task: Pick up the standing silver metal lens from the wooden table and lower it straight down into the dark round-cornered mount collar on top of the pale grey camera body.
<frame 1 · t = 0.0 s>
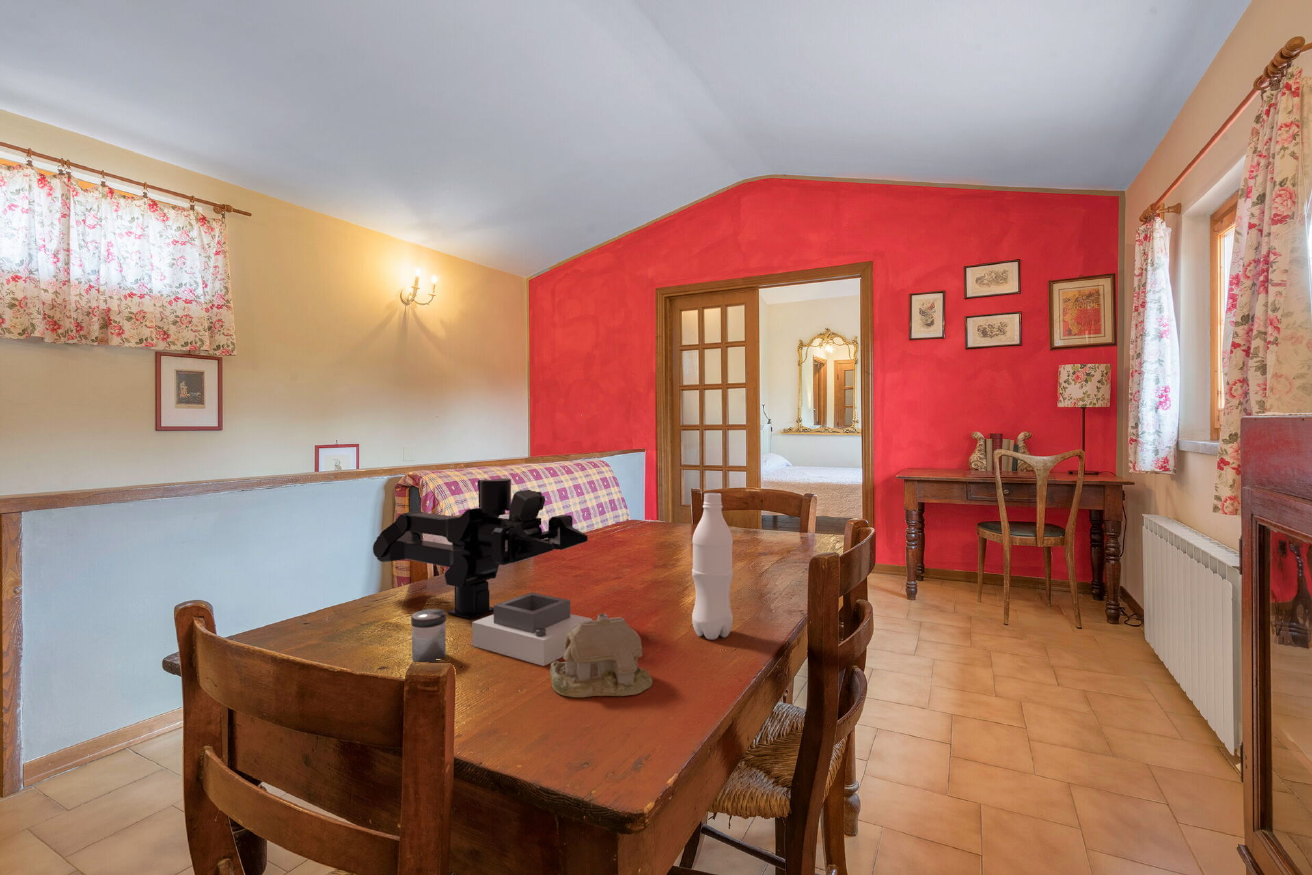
hand: (570, 542, 103), 17 cm above the table, tool horizontal, fingers open, 9 cm apart
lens: (429, 657, 94), on the table
water bottle: (712, 635, 104), on the table
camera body: (532, 643, 100), on the table
ceramic model: (601, 685, 85), on the table
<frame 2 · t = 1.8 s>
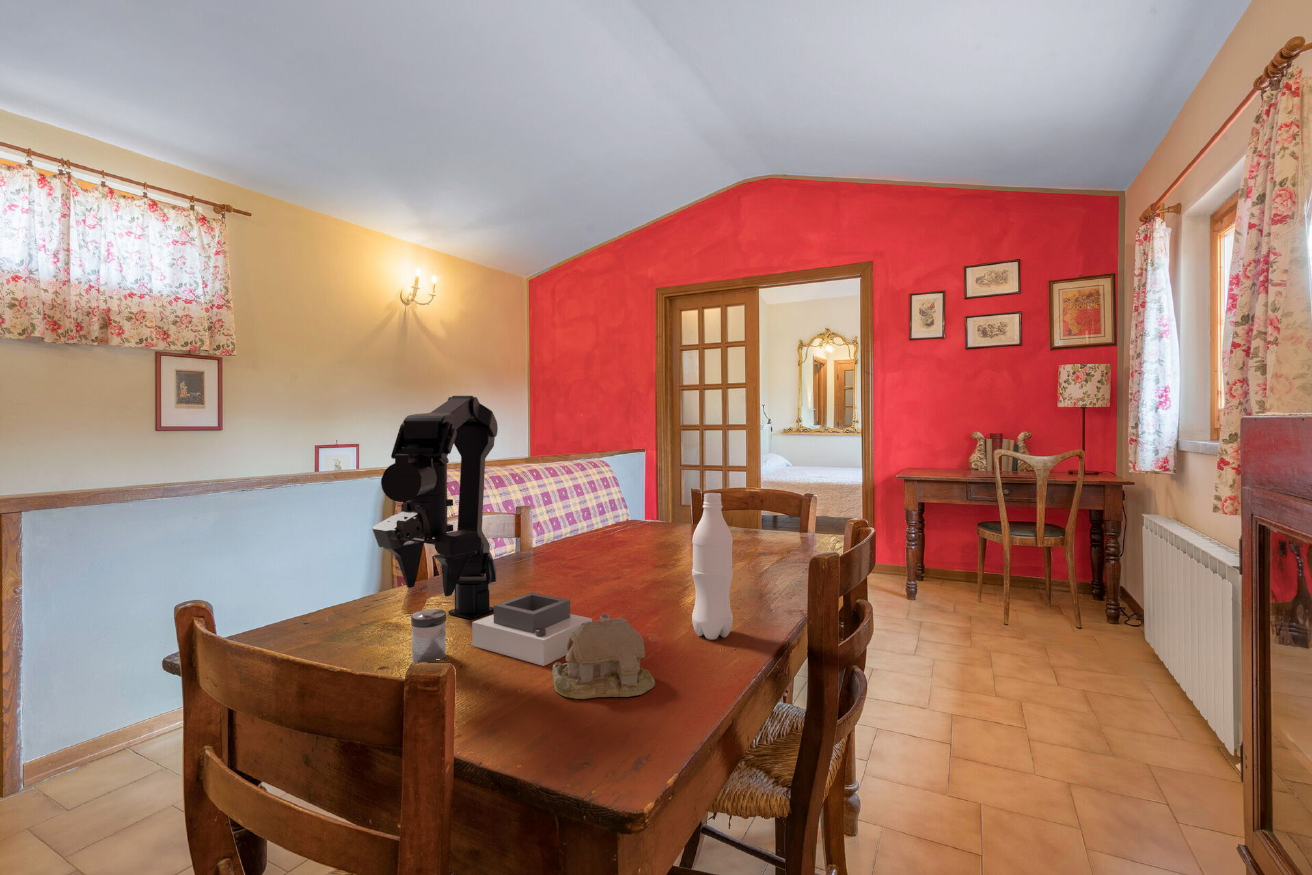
hand: (429, 591, 94), 11 cm above the table, tool pointing down, fingers open, 9 cm apart
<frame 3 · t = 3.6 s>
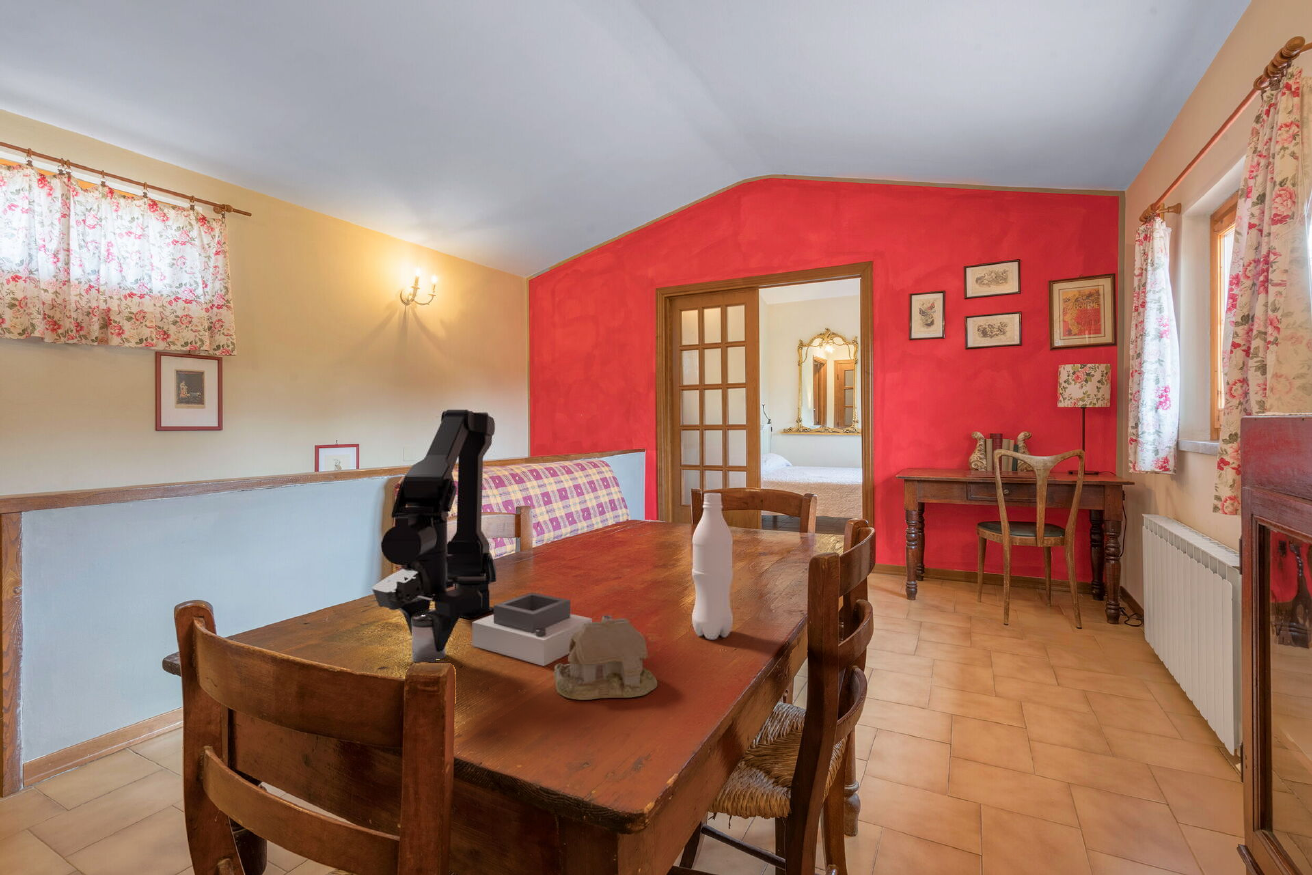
hand: (429, 647, 94), 2 cm above the table, tool pointing down, fingers closed on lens, 5 cm apart
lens: (429, 657, 94), on the table, touching gripper
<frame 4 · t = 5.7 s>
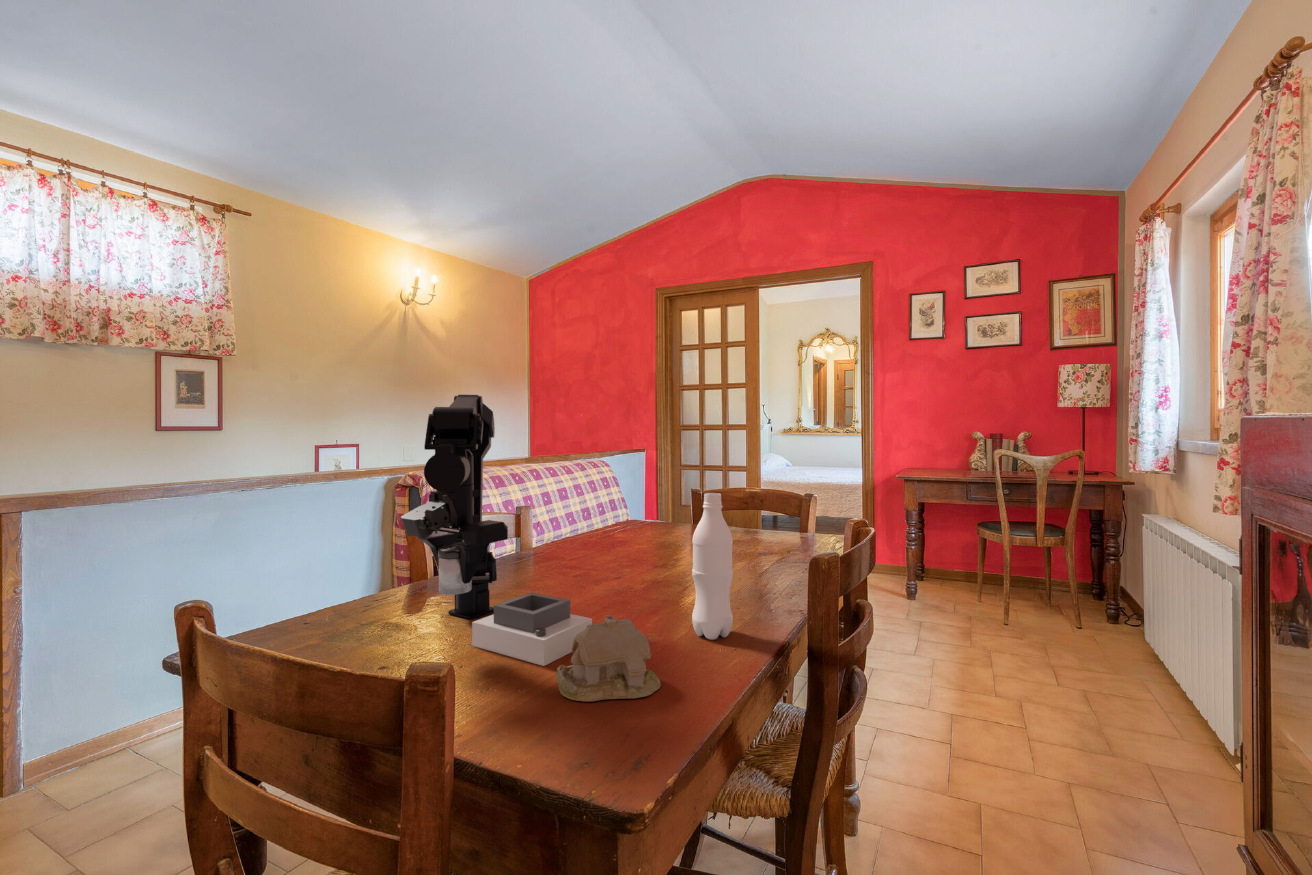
hand: (455, 580, 95), 12 cm above the table, tool pointing down, fingers closed on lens, 5 cm apart
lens: (455, 590, 95), point 10 cm above the table, touching gripper
when the fingers open (8 cm above the table, at t = 8.2 s): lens drops 2 cm, resting on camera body.
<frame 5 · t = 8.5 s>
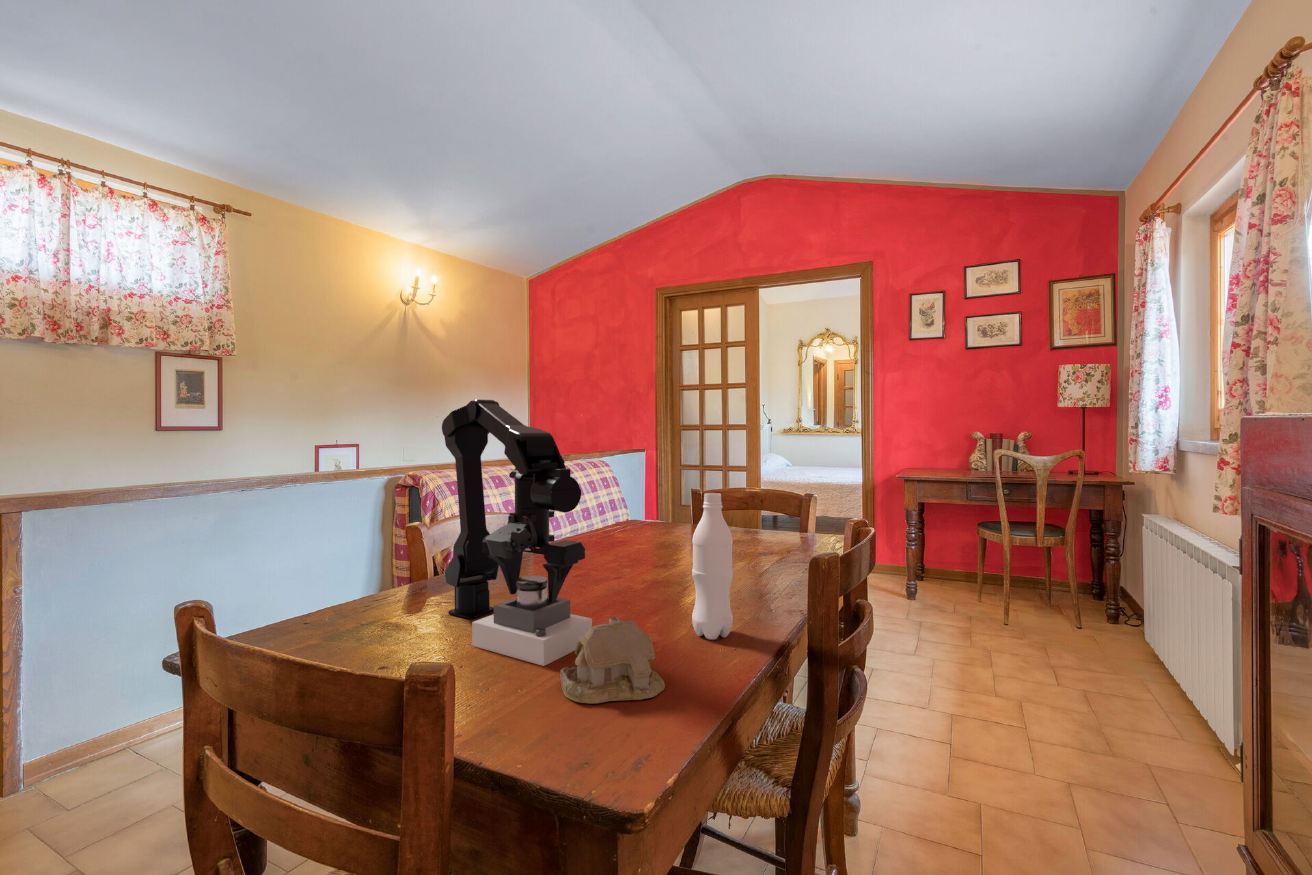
hand: (532, 597, 100), 8 cm above the table, tool pointing down, fingers open, 9 cm apart
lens: (532, 620, 100), point 4 cm above the table, touching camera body
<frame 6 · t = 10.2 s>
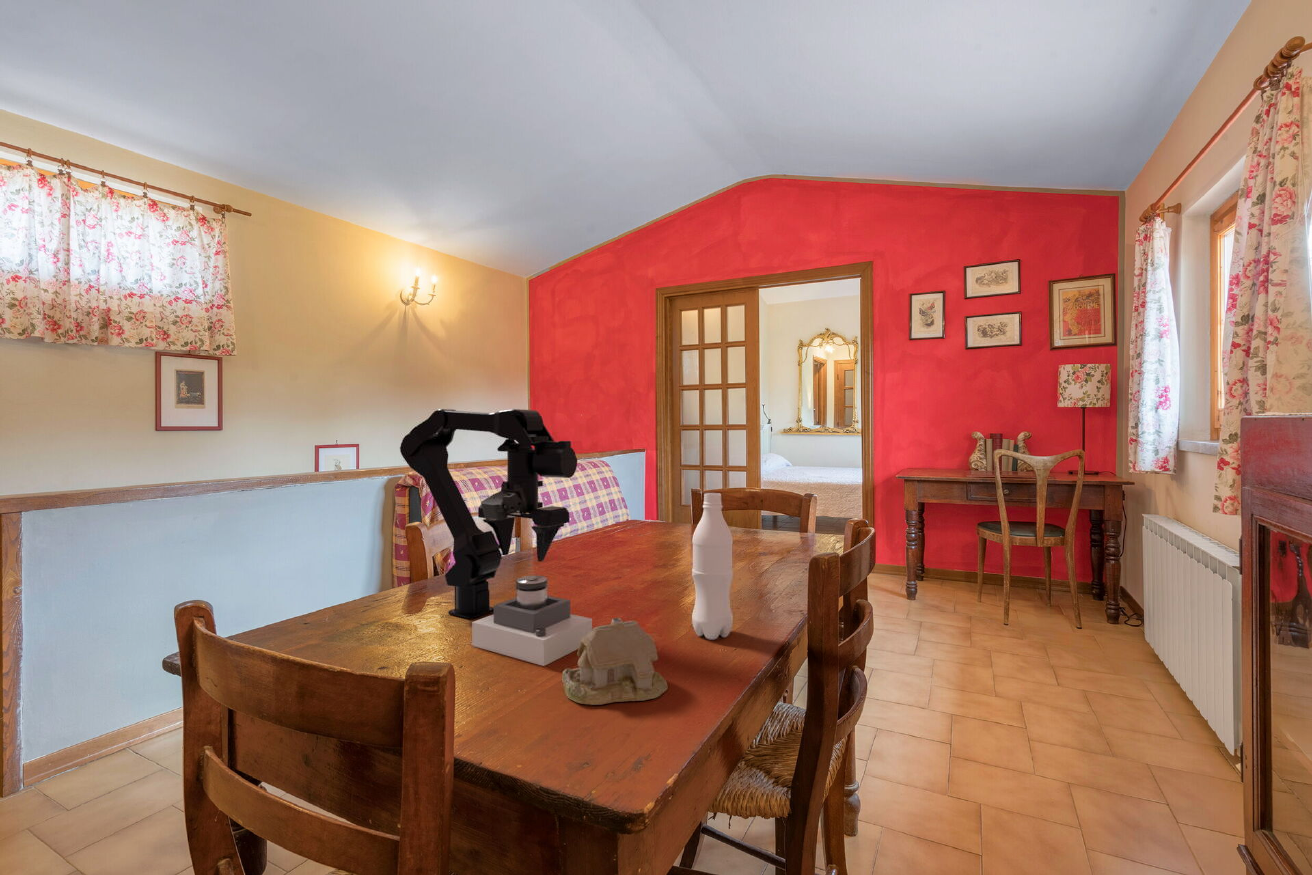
hand: (522, 558, 111), 12 cm above the table, tool pointing down, fingers open, 9 cm apart
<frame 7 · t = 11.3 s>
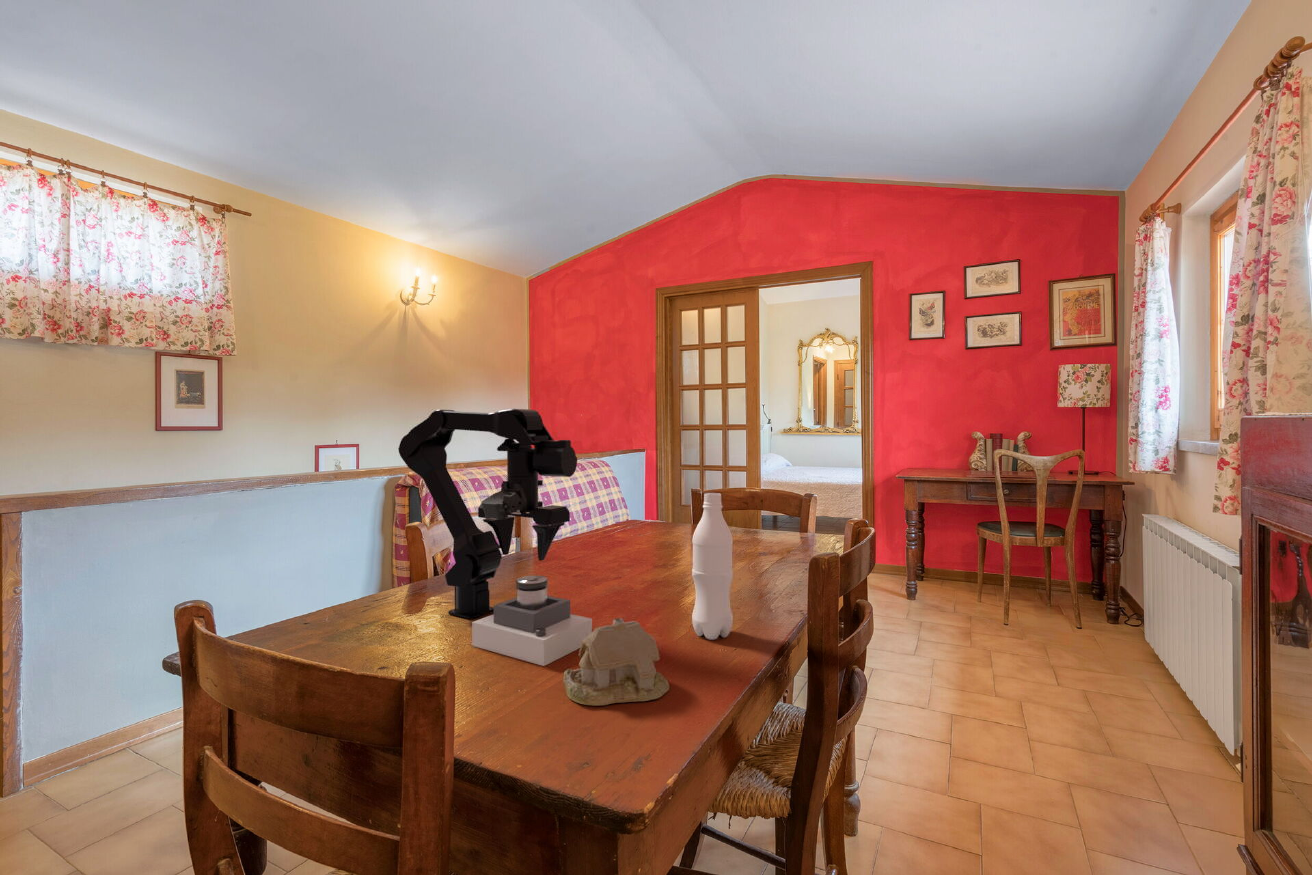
hand: (523, 557, 112), 12 cm above the table, tool pointing down, fingers open, 9 cm apart
at the end: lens 0.1 cm off-centre on the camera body, point 4.0 cm above the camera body's base; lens tilted 0°; the gripper is holding nothing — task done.
